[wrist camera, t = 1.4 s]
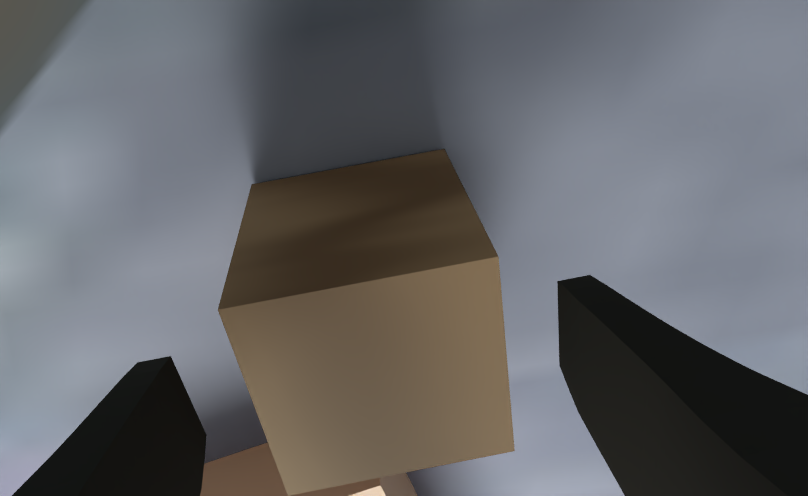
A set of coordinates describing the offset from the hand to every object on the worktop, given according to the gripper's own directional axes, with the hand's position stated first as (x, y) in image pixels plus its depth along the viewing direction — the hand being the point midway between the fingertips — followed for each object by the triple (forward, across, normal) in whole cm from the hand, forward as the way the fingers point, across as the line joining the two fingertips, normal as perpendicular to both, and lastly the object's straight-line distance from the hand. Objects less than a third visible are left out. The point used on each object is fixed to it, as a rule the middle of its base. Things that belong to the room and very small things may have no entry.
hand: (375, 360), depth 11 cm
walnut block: (+4, 0, 0) cm, 4 cm away
